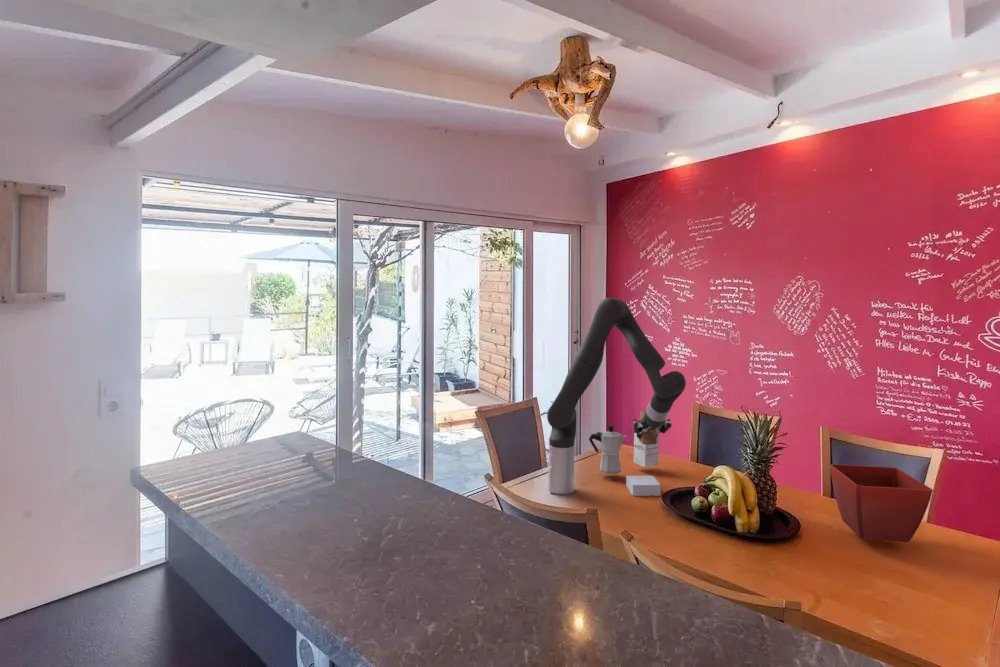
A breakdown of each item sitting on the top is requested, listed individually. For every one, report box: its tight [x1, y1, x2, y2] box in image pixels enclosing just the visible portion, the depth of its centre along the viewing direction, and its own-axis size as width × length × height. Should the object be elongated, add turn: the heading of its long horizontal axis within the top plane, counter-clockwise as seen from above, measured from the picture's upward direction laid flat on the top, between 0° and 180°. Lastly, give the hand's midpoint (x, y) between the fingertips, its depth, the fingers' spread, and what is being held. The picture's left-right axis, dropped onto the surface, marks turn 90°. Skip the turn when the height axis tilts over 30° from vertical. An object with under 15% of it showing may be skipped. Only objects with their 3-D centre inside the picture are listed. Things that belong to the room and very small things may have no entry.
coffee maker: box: [588, 424, 628, 475], centre depth 216 cm, size 15×9×18 cm, turn 84°
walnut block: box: [639, 411, 657, 444], centre depth 201 cm, size 5×5×11 cm
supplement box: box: [633, 433, 660, 468], centre depth 224 cm, size 7×7×13 cm
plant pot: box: [829, 463, 934, 543], centre depth 160 cm, size 19×19×17 cm
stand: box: [625, 475, 662, 497], centre depth 202 cm, size 10×10×4 cm
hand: (646, 436), depth 203 cm, fingers closed on walnut block, 5 cm apart
